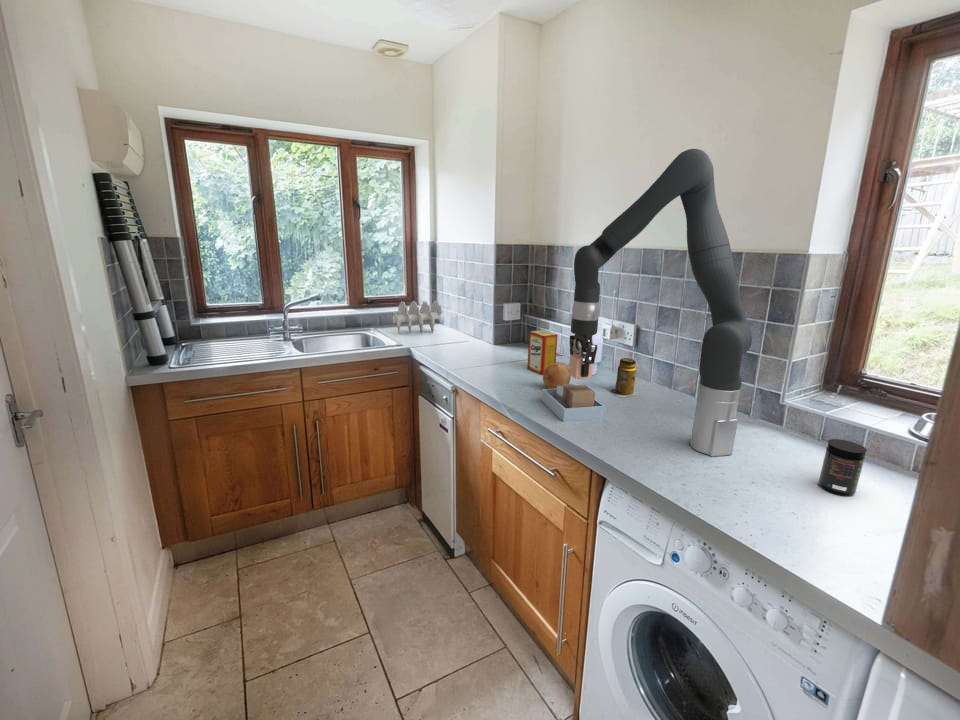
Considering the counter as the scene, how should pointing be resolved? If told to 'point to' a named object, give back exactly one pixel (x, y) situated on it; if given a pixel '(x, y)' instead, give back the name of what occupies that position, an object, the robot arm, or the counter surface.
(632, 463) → the counter surface
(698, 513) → the counter surface
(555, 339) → the baking soda box
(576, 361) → the peach rectangular block
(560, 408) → the tote
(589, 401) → the walnut block
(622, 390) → the condiment
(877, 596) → the counter surface
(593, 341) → the soap bottle
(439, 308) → the grey lumpy piece
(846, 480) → the supplement container
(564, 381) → the onion
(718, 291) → the robot arm
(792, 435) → the counter surface
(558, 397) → the grey tin
